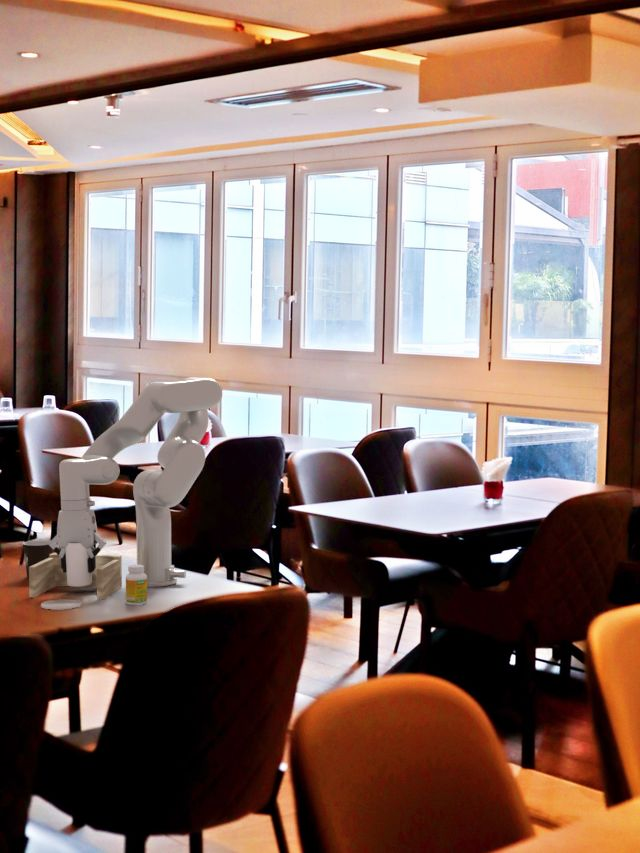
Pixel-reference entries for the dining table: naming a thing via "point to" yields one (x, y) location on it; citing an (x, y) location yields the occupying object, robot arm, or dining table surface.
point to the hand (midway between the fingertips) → (78, 571)
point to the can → (77, 565)
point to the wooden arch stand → (51, 575)
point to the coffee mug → (36, 552)
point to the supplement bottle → (136, 585)
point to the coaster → (60, 604)
